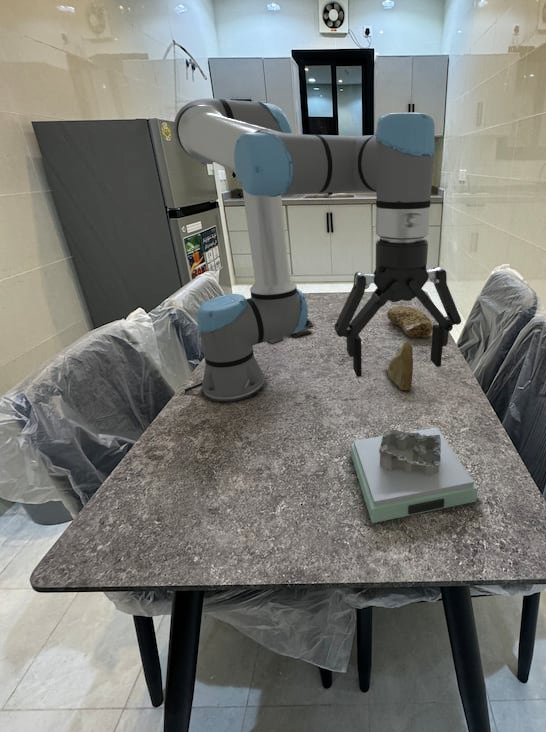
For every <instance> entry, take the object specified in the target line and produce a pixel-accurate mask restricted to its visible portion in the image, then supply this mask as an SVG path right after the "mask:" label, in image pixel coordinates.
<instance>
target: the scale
mask: <svg viewBox="0 0 546 732" xmlns="http://www.w3.org/2000/svg"><path fill="white" fill-rule="evenodd" d="M409 432H410V433H419V434H420V435H424V434H425V435H426V436H430V435H440V438H441V454H440V456H441V463H440V465H439V471H438V472H435V473H433V474H432V476H426V475H425V473H424V472H423V471H421V470H415V471H413V472H412V473H406V472H405V471H404V470H403V469H402V468H394V469H393V470H392V471H387V470H386V469H385V467H384V466H382V465H380V453H379V449H380V445H381V442H382V438H383V435H381V436H375V437H368V438H362V439H355V440H353V442H351V443H350V456H351V460H352V463H353V466H354V470H355V473H356V476H357V479H358V483H359V486H360V489H361V493H362V496H363V499H364V502H365V506H366V508H367V512H368V516H369V519H370V522H371V524H376V523H380V522H386V521H390V520H395V519H400V518H405V517H409V516H413V515H418V514H424V513H427V512H433V511H438V510H444V509H448V508H451V507H457V506H462V505H466V504H470V503H476V502H477V496H478V491H479V490H478V489H479V488H478V486H477V485H476V484H475V481H474V480H473V478H472V477H471V475H470V474H469V472H468V470H467V469H466V468H465V466H464V465H463V463H462V461H461V460H460V459H459V458H458V456H457V454H456V453H455V451H454V449H452V447H451V446H450V444H449V443H448V441H447V440H446V438H445V437H444V435H443V434H442V432H441V431H440V429H439V427H438V426H436V427H429V428H423V429H418V430H417V429H416V430H411V431H409Z"/></svg>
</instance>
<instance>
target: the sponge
mask: <svg viewBox="0 0 546 732" xmlns="http://www.w3.org/2000/svg"><path fill="white" fill-rule="evenodd" d="M386 316H387V319H388V320H389V321H390V322H391V323H393V324H394V325H396V326H398V327H400V328H401V329H402V330H403V332H404V333H405V335H407V336H409V337H410V338H424V339H425V338H428V337H429V336H431V334H432V331H433V323H432V321H431V319H430V318H429V317H428V315H426V314H425V313H423V312H421V311H420V310H418V309H416V308H414V307H411V306H406V305H398V306H394V307H392V308H389V310H387V314H386Z"/></svg>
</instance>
